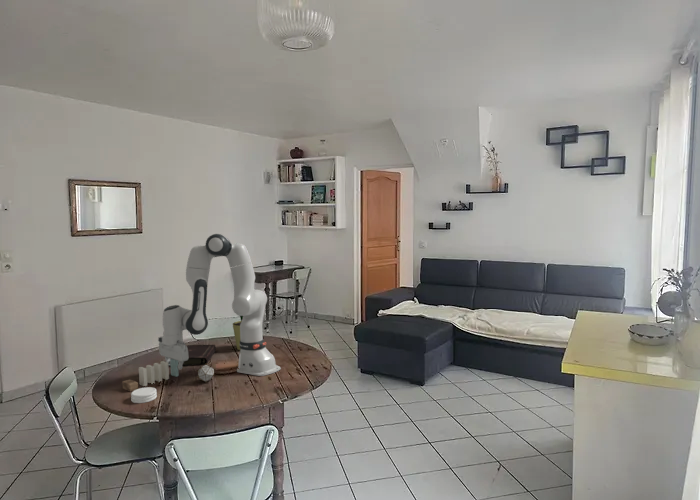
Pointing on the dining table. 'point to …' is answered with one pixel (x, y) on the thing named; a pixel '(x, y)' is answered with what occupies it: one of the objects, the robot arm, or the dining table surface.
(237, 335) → the potted cactus
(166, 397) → the dining table surface
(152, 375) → the domino
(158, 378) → the domino
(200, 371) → the game die
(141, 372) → the domino
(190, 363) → the diary
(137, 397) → the coaster
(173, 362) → the domino
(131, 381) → the block
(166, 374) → the domino
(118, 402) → the dining table surface
